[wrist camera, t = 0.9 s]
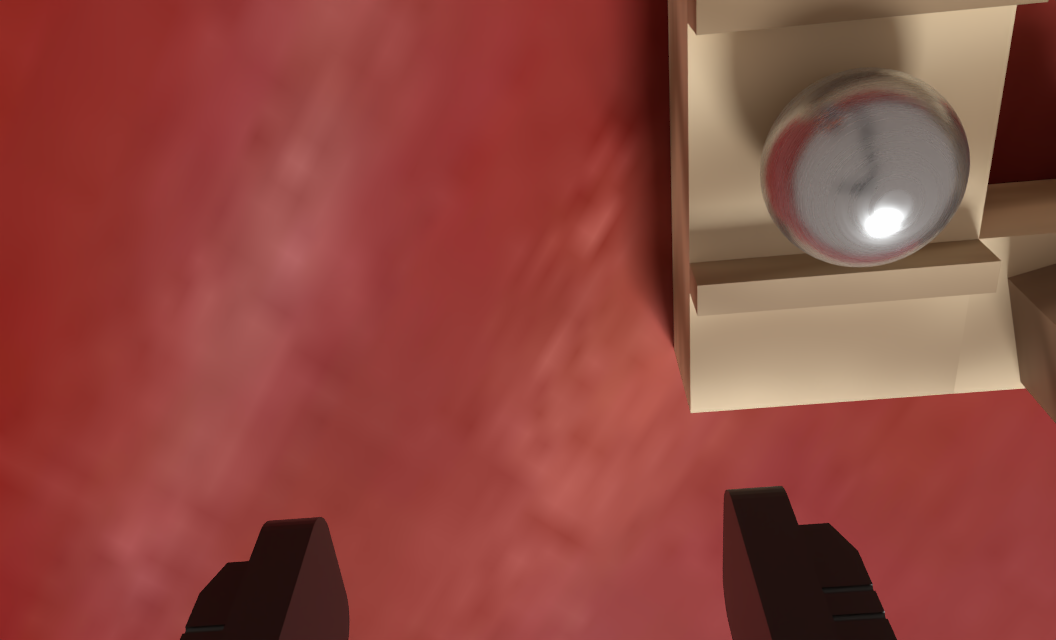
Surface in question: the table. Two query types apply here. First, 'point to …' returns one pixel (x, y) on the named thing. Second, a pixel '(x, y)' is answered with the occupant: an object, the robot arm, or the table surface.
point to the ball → (864, 167)
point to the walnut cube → (1036, 333)
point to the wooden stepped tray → (814, 285)
